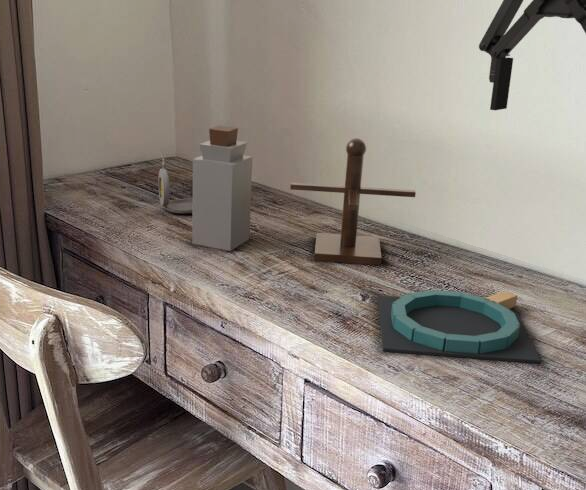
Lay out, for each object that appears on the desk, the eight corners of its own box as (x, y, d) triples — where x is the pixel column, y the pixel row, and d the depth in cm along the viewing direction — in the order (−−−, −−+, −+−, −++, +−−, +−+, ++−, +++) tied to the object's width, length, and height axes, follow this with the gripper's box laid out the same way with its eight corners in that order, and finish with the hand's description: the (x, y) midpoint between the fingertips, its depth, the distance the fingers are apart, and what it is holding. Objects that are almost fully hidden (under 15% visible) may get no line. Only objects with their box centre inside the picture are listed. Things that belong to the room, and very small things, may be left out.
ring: (513, 302, 109) (515, 291, 109) (541, 359, 94) (544, 346, 93) (387, 293, 111) (389, 282, 110) (395, 347, 95) (396, 335, 95)
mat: (513, 308, 108) (513, 305, 108) (540, 363, 94) (540, 360, 93) (377, 298, 110) (377, 295, 110) (382, 351, 95) (383, 348, 95)
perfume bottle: (212, 231, 134) (214, 122, 127) (249, 238, 131) (253, 127, 124) (192, 243, 128) (193, 129, 121) (230, 251, 125) (233, 134, 119)
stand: (403, 237, 135) (415, 129, 128) (412, 278, 117) (427, 156, 111) (290, 229, 136) (296, 122, 130) (283, 268, 119) (289, 148, 112)
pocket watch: (210, 210, 145) (211, 155, 141) (175, 220, 139) (175, 162, 135) (178, 200, 150) (178, 147, 146) (143, 209, 144) (142, 153, 140)
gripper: (464, -67, 101) (445, 105, 109) (666, -69, 84) (627, 136, 92) (498, -64, 106) (478, 100, 114) (696, -66, 88) (657, 129, 96)
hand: (544, 117), depth 103 cm, fingers open, 13 cm apart
